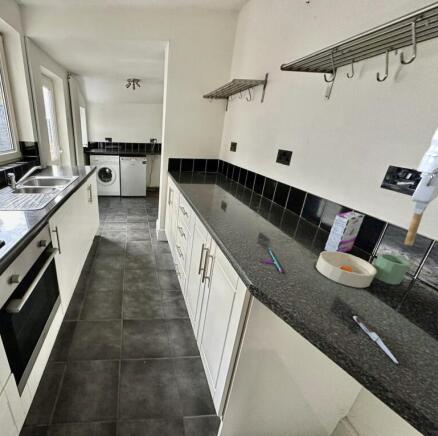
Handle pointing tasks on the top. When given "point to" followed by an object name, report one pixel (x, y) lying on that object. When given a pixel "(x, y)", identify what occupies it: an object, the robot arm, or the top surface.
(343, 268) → the ball
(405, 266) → the holder
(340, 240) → the candy bar box
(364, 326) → the pocket knife
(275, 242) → the top surface
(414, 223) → the stirring stick
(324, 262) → the bowl
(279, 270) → the squeegee
